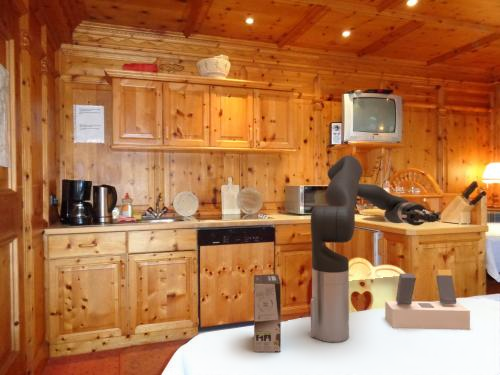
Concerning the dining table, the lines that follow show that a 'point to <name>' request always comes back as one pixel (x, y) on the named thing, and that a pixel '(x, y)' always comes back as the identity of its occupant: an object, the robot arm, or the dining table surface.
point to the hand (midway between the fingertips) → (432, 218)
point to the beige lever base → (427, 315)
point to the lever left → (405, 289)
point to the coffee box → (267, 313)
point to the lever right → (445, 287)
